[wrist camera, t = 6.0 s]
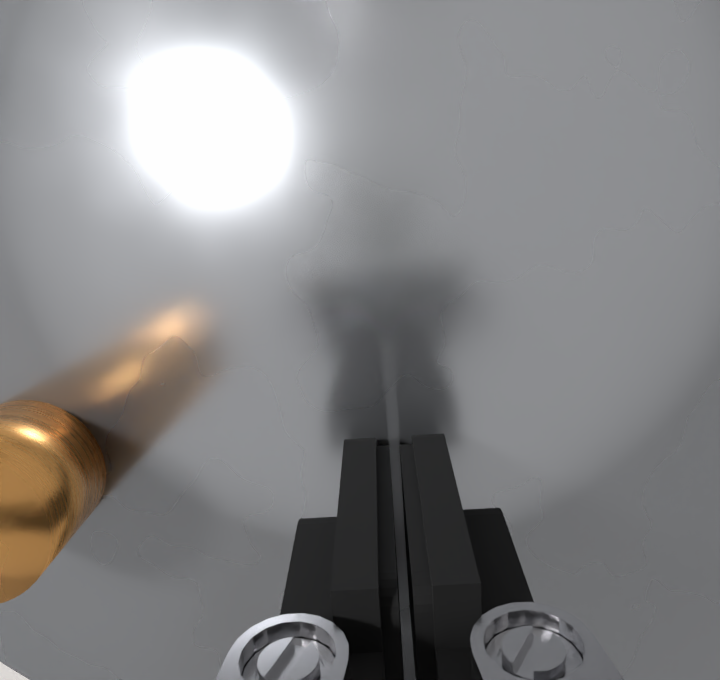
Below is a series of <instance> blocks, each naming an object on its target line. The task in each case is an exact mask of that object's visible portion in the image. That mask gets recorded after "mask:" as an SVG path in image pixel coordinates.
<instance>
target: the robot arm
mask: <svg viewBox="0 0 720 680" xmlns="http://www.w3.org/2000/svg"><path fill="white" fill-rule="evenodd" d="M400 461H401V477H402V494H403V510H404V527H405V543H406V560H407V576H408V592H409V606H410V618H411V630H412V643H413V655H414V667H415V679H416V680H624V679H623V677H622V676H621V674H620V673H619V672H618V670H617V669H616V667H615V666H614V664H613V663H612V661H611V660H610V658H609V657H608V655H607V654H606V652H605V651H604V649H603V648H602V646H601V645H600V643H599V642H598V640H597V639H596V637H595V636H594V634H593V633H592V632H591V631H590V630H589V629H588V627H587V626H586V625H585V624H584V623H583V622H582V621H581V620H579V619H578V618H576V617H574V616H573V615H571V614H570V613H568V612H567V611H564V610H561V609H559V608H556V607H553V606H550V605H547V604H540V603H534V601H533V598H532V595H531V592H530V589H529V586H528V584H527V581H526V578H525V575H524V572H523V569H522V566H521V564H520V561H519V558H518V555H517V552H516V549H515V546H514V544H513V541H512V538H511V535H510V532H509V529H508V526H507V524H506V521H505V518H504V515H503V512H502V510H501V508H483V509H465V510H463V508H462V504H461V500H460V496H459V492H458V488H457V484H456V480H455V476H454V471H453V467H452V463H451V459H450V455H449V451H448V447H447V443H446V439H445V435H444V433H443V434H426V435H412V444H403V445H400ZM215 680H404V668H403V652H402V635H401V619H400V602H399V586H398V571H397V556H396V540H395V525H394V510H393V495H392V479H391V464H390V449H389V445H386V446H377V441H376V438H359V439H344V444H343V455H342V466H341V477H340V488H339V499H338V510H337V517H319V518H301V519H299V520H298V524H297V528H296V534H295V539H294V544H293V549H292V554H291V560H290V565H289V570H288V575H287V581H286V586H285V591H284V596H283V601H282V607H281V612H280V616H276V617H272V618H268V619H266V620H264V621H262V622H260V623H258V624H256V625H254V626H252V627H250V628H249V629H248V630H247V631H246V632H244V633H243V634H242V635H241V636H240V637H238V638H237V640H236V641H235V643H234V644H233V646H232V647H231V649H230V650H229V652H228V654H227V656H226V658H225V660H224V662H223V664H222V666H221V668H220V670H219V673H218V675H217V677H216V679H215Z"/></svg>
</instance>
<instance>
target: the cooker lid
mask: <svg viewBox="0 0 720 680" xmlns="http://www.w3.org/2000/svg"><path fill="white" fill-rule="evenodd" d="M443 433H444V435H445V439H446V443H447V447H448V451H449V455H450V459H451V463H452V467H453V471H454V476H455V480H456V484H457V488H458V492H459V496H460V500H461V504H462V508H463V510H465V509H483V508H501V510H502V512H503V515H504V518H505V521H506V524H507V526H508V529H509V532H510V535H511V538H512V541H513V544H514V546H515V549H516V552H517V555H518V558H519V561H520V564H521V566H522V569H523V572H524V575H525V578H526V581H527V584H528V586H529V589H530V592H531V595H532V598H533V601H534V603H540V604H547V605H550V606H553V607H556V608H559V609H561V610H564V611H567V612H568V613H570V614H571V615H573V616H574V617H576V618H578V619H579V620H581V621H582V622H583V623H584V624H585V625H586V626H587V627H588V629H589V630H590V631H591V632H592V633H593V634H594V636H595V637H596V639H597V640H598V642H599V643H600V645H601V646H602V648H603V649H604V651H605V652H606V654H607V655H608V657H609V658H610V660H611V661H612V663H613V664H614V666H615V667H616V669H617V670H618V672H619V673H620V674H621V676H622V677H623V679H624V680H720V0H0V661H1V662H2V663H3V664H5V665H6V666H8V667H10V668H11V669H13V670H15V671H16V672H18V673H20V674H21V675H23V676H25V677H26V678H28V679H30V680H215V679H216V677H217V675H218V673H219V670H220V668H221V666H222V664H223V662H224V660H225V658H226V656H227V654H228V652H229V650H230V649H231V647H232V646H233V644H234V643H235V641H236V640H237V638H238V637H240V636H241V635H242V634H243V633H244V632H246V631H247V630H248V629H249V628H250V627H252V626H254V625H256V624H258V623H260V622H262V621H264V620H266V619H268V618H272V617H276V616H280V612H281V607H282V601H283V596H284V591H285V586H286V581H287V575H288V570H289V565H290V560H291V554H292V549H293V544H294V539H295V534H296V528H297V524H298V520H299V519H301V518H319V517H337V510H338V499H339V488H340V477H341V466H342V455H343V444H344V439H359V438H376V441H377V446H386V445H389V449H390V464H391V479H392V495H393V510H394V525H395V540H396V556H397V571H398V586H399V602H400V619H401V635H402V652H403V668H404V680H416V679H415V667H414V655H413V643H412V630H411V618H410V606H409V592H408V576H407V560H406V543H405V527H404V510H403V494H402V477H401V461H400V445H403V444H412V435H426V434H443Z"/></svg>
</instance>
